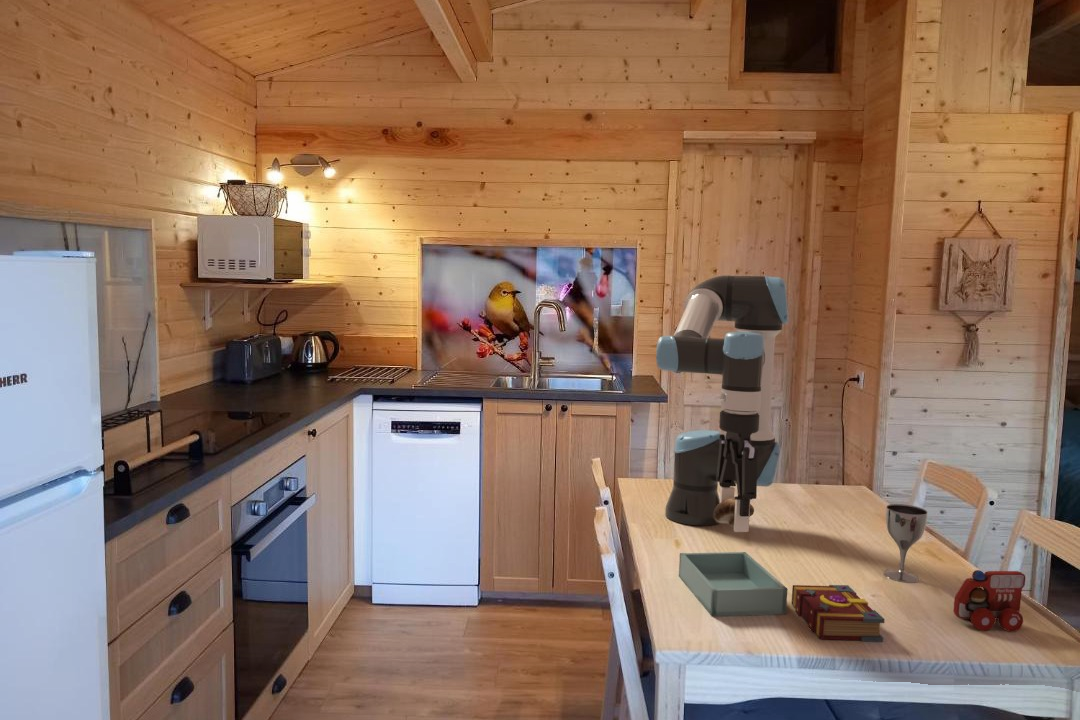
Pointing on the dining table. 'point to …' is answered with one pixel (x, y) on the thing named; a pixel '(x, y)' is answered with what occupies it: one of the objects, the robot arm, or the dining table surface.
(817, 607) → the decorative book
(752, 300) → the robot arm
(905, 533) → the wine glass
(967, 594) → the toy fire truck
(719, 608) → the open rectangular box
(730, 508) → the mushroom
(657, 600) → the dining table surface
